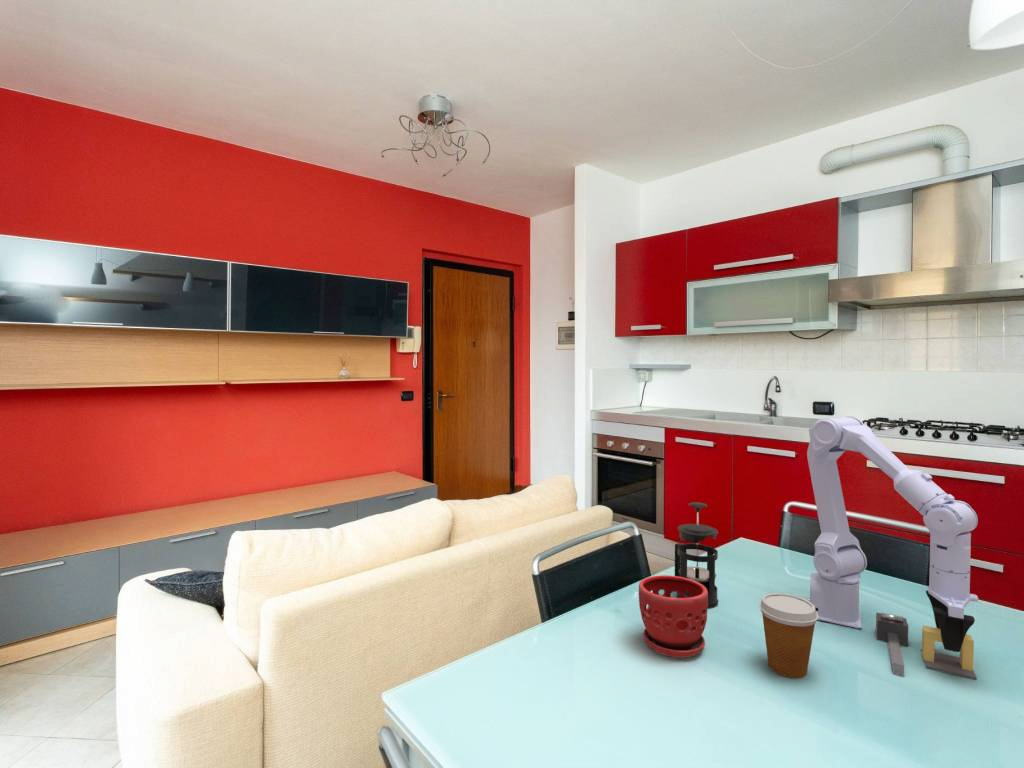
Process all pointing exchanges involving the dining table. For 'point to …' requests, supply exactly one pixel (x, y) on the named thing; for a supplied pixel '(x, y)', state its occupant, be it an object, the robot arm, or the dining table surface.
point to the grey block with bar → (893, 638)
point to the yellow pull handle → (935, 635)
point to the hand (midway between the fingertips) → (947, 641)
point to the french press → (701, 575)
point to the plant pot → (673, 615)
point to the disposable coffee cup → (788, 632)
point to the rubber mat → (949, 665)
